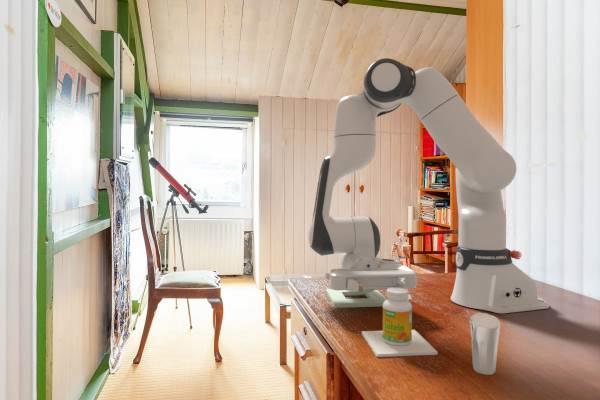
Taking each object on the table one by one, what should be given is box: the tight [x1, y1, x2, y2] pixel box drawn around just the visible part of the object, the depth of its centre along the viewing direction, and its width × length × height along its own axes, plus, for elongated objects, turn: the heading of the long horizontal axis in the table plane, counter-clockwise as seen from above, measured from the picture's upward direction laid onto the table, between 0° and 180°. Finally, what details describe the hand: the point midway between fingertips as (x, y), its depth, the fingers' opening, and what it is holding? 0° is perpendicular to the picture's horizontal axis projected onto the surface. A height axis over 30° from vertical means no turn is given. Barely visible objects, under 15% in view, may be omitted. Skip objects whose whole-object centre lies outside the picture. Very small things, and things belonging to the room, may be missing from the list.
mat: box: [361, 329, 438, 358], centre depth 76 cm, size 11×11×1 cm
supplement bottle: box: [382, 288, 413, 346], centre depth 76 cm, size 5×5×10 cm
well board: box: [325, 288, 388, 309], centre depth 106 cm, size 14×14×1 cm
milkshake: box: [465, 309, 501, 376], centre depth 65 cm, size 4×5×10 cm
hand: (381, 287), depth 87 cm, fingers open, 8 cm apart
